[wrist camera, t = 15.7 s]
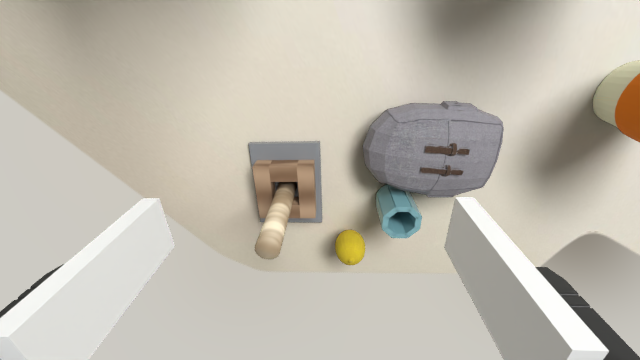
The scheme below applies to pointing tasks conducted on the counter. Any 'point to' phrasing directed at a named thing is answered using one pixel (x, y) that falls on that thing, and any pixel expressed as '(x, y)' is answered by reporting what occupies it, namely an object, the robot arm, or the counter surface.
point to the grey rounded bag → (434, 148)
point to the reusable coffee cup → (621, 99)
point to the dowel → (276, 221)
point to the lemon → (350, 247)
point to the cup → (397, 212)
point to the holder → (286, 172)
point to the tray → (292, 152)
